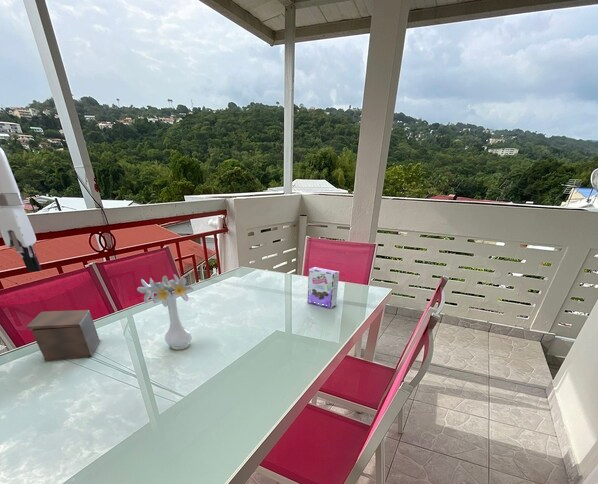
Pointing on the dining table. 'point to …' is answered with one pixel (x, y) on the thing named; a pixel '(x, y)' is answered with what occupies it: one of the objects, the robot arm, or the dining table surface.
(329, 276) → the candy box
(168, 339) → the flower vase
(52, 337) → the box
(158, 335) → the dining table surface
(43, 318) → the breadbox lid
